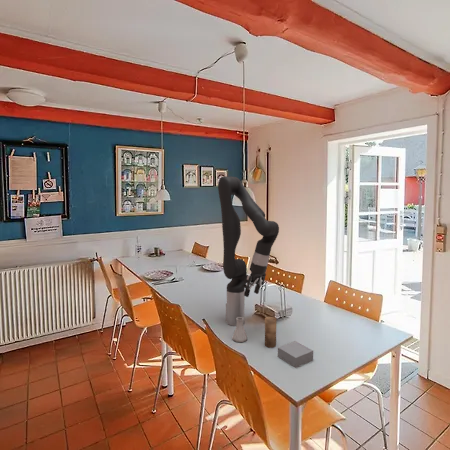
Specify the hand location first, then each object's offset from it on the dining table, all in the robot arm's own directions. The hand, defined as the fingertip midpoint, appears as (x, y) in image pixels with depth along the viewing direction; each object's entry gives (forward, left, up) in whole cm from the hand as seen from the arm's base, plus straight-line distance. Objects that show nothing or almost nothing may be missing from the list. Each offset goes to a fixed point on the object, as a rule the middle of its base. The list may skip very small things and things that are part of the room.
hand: (251, 294), depth 148 cm
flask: (+2, -8, -19) cm, 21 cm away
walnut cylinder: (+14, 0, -19) cm, 24 cm away
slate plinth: (+28, +1, -19) cm, 34 cm away
